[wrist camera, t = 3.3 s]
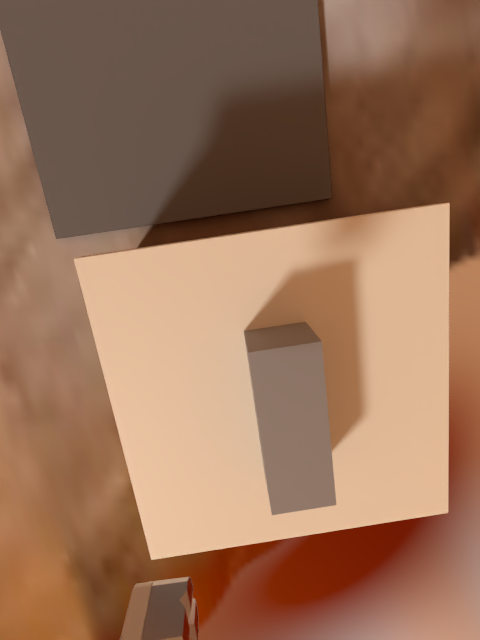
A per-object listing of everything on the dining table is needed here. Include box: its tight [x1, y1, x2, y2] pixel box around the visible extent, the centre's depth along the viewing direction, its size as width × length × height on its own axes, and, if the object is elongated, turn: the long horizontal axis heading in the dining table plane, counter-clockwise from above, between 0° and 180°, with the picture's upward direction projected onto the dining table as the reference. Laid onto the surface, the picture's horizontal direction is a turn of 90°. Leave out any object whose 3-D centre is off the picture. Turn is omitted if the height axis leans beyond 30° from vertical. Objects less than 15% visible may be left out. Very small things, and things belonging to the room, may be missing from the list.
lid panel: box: [74, 203, 450, 560], centre depth 19 cm, size 17×17×5 cm
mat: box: [0, 0, 332, 239], centre depth 24 cm, size 19×19×1 cm
